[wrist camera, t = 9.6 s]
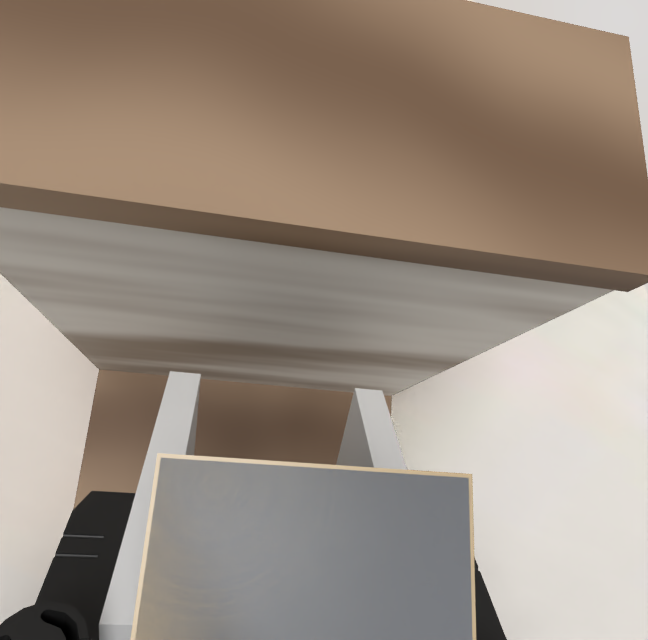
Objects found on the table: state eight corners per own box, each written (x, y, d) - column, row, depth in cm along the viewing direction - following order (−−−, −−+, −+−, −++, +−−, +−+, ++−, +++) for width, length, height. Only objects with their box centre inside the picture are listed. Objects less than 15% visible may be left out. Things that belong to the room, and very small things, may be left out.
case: (312, 658, 16) (485, 973, 6) (170, 657, 15) (76, 1011, 5) (321, 479, 18) (472, 474, 7) (193, 471, 17) (156, 452, 7)
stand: (370, 655, 23) (774, 1106, 6) (59, 652, 21) (-525, 1308, 4) (380, 295, 27) (626, 21, 11) (128, 264, 25) (-25, -129, 9)
